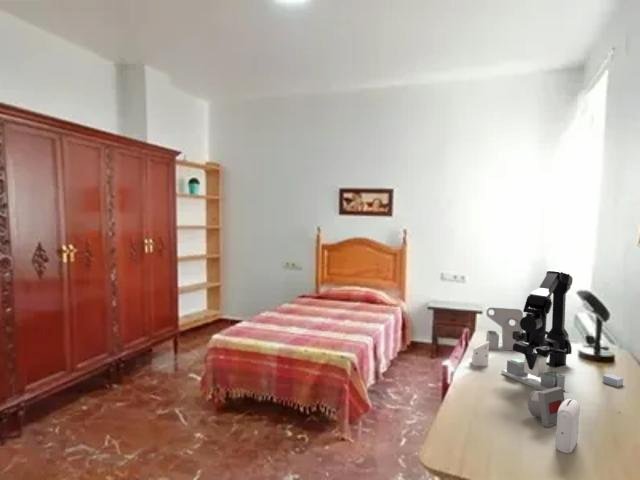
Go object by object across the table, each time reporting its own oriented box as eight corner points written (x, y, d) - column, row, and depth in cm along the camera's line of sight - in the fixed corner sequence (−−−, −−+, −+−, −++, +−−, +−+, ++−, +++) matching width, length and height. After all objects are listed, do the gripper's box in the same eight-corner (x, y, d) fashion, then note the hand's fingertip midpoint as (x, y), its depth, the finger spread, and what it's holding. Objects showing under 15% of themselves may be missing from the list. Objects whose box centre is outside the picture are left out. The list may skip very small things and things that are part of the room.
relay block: (616, 390, 163) (622, 388, 165) (617, 380, 163) (623, 378, 165) (602, 385, 167) (608, 384, 169) (603, 375, 167) (608, 373, 169)
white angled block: (499, 360, 185) (489, 342, 185) (476, 371, 186) (467, 352, 186) (496, 357, 188) (486, 339, 188) (474, 368, 190) (465, 350, 190)
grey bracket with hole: (488, 348, 209) (490, 310, 208) (484, 342, 219) (486, 306, 218) (527, 352, 206) (530, 313, 205) (522, 345, 216) (524, 309, 215)
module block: (531, 370, 171) (532, 352, 170) (545, 375, 165) (546, 357, 165) (524, 371, 169) (525, 353, 169) (537, 377, 164) (539, 358, 163)
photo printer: (571, 455, 117) (574, 409, 116) (553, 449, 120) (556, 404, 119) (579, 441, 125) (582, 397, 124) (562, 435, 128) (564, 393, 127)
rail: (514, 371, 180) (514, 355, 179) (564, 391, 160) (565, 374, 160) (501, 373, 177) (502, 358, 176) (551, 394, 157) (552, 377, 156)
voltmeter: (569, 433, 130) (571, 399, 129) (525, 424, 134) (527, 392, 134) (563, 399, 154) (565, 371, 153) (526, 392, 158) (528, 365, 158)
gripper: (535, 320, 177) (533, 358, 178) (501, 324, 169) (499, 364, 170) (561, 327, 167) (559, 368, 168) (526, 332, 159) (524, 374, 160)
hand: (534, 368), depth 167 cm, fingers closed on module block, 4 cm apart
